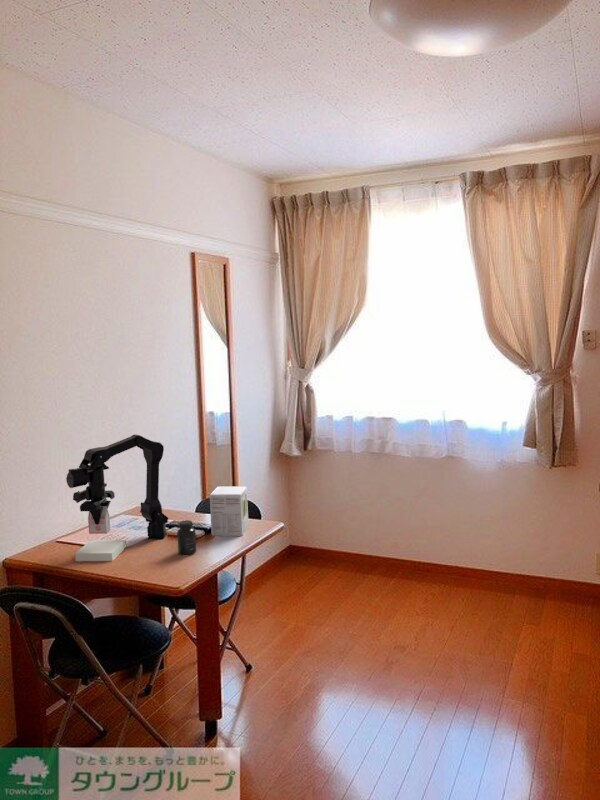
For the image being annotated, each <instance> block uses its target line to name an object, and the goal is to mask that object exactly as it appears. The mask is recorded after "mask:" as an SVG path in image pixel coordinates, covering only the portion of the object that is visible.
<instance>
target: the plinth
mask: <svg viewBox="0 0 600 800" xmlns="http://www.w3.org/2000/svg"><path fill="white" fill-rule="evenodd" d="M125 547H127V542H126V539H109V540H108V539H104V540H103V539H102V540H101V539H94V540H93V539H92V540H89V541H88V542H87V543H86V544H85V545H83V546H82V547H81V548H80V549H78V550H77V551H76V552H75V553H74V555H75V562H113V561H115V559H116V558H117V557H118V556H119V555H120V554H121V553H122V552H123V551H124V550H125V549H126V548H125ZM124 548H125V549H124Z"/></svg>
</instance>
